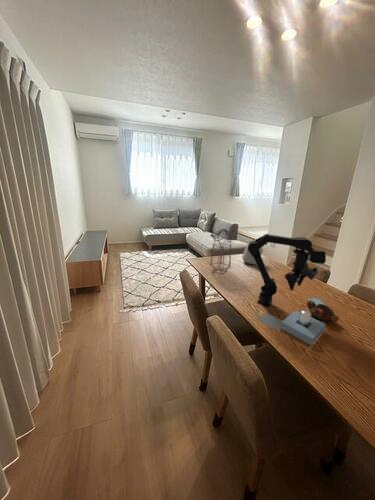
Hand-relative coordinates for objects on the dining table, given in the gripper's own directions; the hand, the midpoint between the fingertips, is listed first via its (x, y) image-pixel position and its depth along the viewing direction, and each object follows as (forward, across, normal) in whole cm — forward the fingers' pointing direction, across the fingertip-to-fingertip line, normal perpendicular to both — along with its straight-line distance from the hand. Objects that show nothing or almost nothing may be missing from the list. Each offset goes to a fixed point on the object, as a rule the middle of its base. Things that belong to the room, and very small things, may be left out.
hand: (295, 287), depth 113 cm
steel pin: (+13, -15, -12) cm, 23 cm away
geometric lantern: (+13, +8, +61) cm, 63 cm away
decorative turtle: (+13, +3, -14) cm, 19 cm away
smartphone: (+14, +17, -9) cm, 24 cm away
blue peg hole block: (+13, -15, -12) cm, 23 cm away
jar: (+13, +46, +56) cm, 74 cm away
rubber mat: (+13, -21, +1) cm, 25 cm away
